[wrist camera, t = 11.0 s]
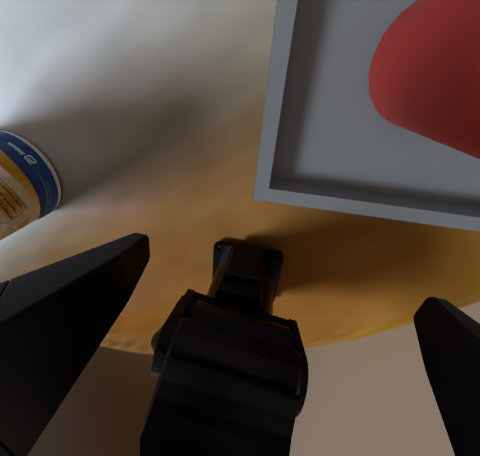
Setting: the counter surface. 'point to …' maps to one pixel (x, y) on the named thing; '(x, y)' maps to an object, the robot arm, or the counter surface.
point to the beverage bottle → (24, 184)
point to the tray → (350, 125)
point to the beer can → (432, 73)
